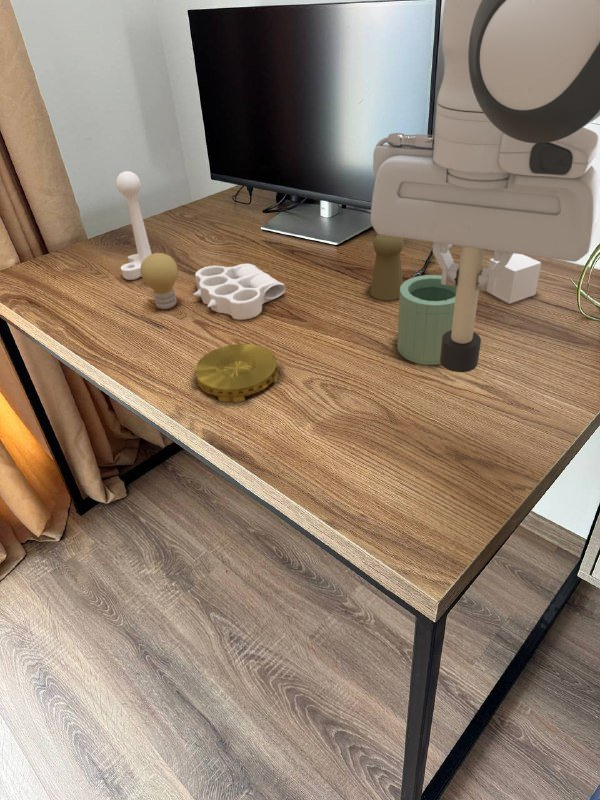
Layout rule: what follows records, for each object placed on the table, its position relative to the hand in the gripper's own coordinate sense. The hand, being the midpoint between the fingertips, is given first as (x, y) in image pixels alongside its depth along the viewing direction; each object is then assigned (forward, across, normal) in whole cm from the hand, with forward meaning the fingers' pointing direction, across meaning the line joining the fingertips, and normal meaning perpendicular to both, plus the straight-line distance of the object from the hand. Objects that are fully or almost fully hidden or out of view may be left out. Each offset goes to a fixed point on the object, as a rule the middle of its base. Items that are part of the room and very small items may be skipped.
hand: (468, 286), depth 58 cm
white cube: (+22, -3, +45) cm, 50 cm away
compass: (+22, -33, +3) cm, 40 cm away
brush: (+9, 0, 0) cm, 9 cm away
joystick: (+22, -72, +26) cm, 80 cm away
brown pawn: (+22, -23, +37) cm, 49 cm away
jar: (+22, -10, +22) cm, 33 cm away
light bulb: (+22, -58, +17) cm, 64 cm away
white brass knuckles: (+22, -48, +25) cm, 58 cm away
